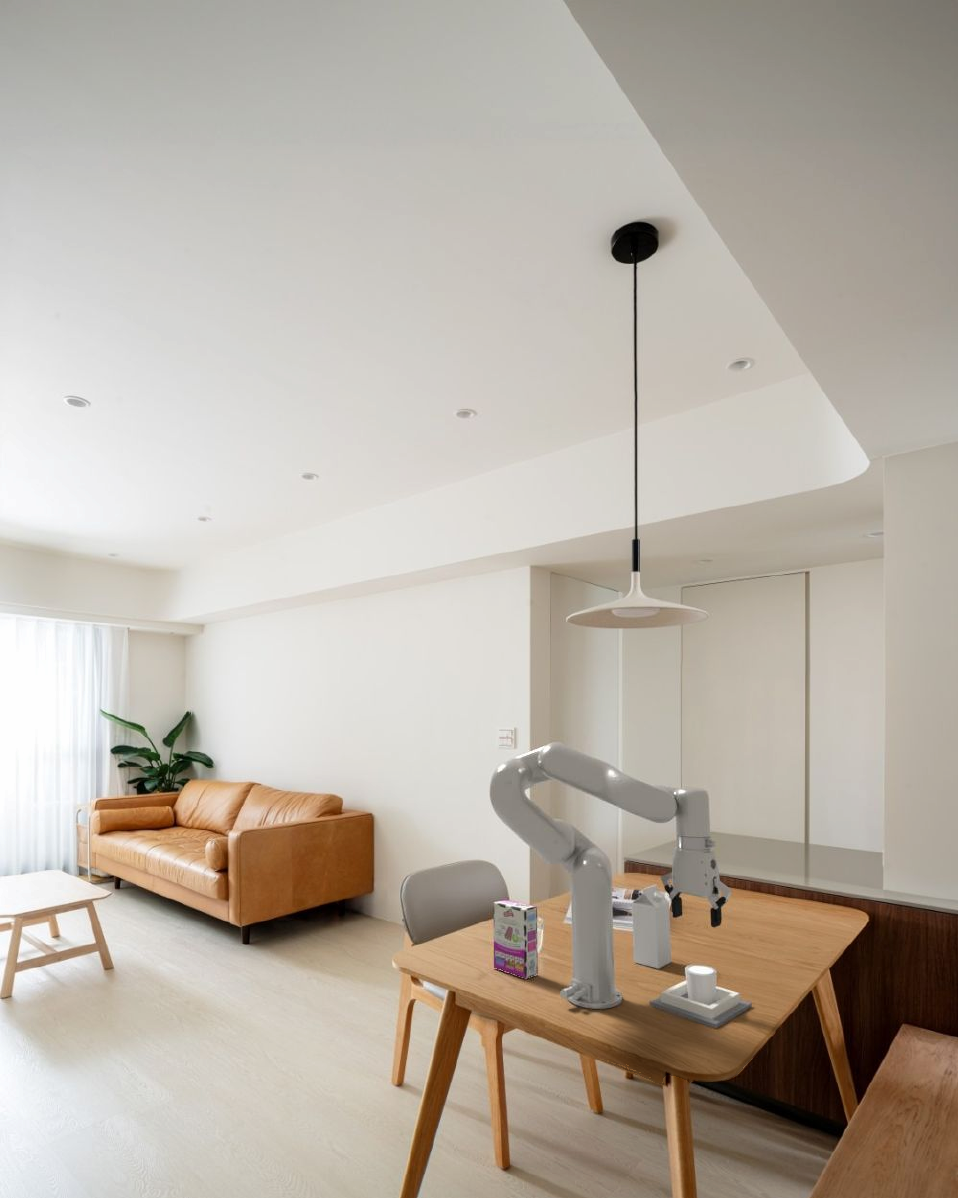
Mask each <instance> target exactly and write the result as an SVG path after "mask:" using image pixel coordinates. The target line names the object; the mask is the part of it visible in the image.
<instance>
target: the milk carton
mask: <svg viewBox="0 0 958 1198" xmlns="http://www.w3.org/2000/svg"><path fill="white" fill-rule="evenodd" d="M631 907H632V908H631V909H632V913H631V914H632V938H633V939H632V940H633V947H632V948H633V963H636V964H640V965H643V966H645V967H650V968H653V969H661V968H662V967H665V966H667V965H668V964H670V963H672V946H671V945H672V944H671V920H670V919H671V916H670V902H669V900H668V899H667V898H666V897H665V895H664V894H663V893H662V892H661V891H660V890H659V888H658V884H653V885H651V886H648V887H645V888H643V889H642V894H641V895H639V896H638V897H637V898H636V899H635V900H634V901H633V902H631Z"/></svg>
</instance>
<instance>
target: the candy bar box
mask: <svg viewBox="0 0 958 1198" xmlns="http://www.w3.org/2000/svg"><path fill="white" fill-rule="evenodd" d="M538 957H539V956H538V906H536V905H533V904H532V905H531V904H527V903H523V902H519V901H513V900H509V899H502V900H498V901H494V902H493V969H494V968H497V969H501V970H503V971H506V972H509V973H512V974H515V975H517V976H520V977H523V978H529V977H531V976H534V975H536V974H539V967H538V964H539V963H538V961H539V960H538V959H539V958H538ZM517 976H516V977H517ZM536 976H537V975H536ZM520 977H519V978H520ZM534 977H535V976H534ZM523 978H522V979H523ZM531 978H532V977H531ZM529 979H530V978H529Z"/></svg>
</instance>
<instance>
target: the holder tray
mask: <svg viewBox="0 0 958 1198" xmlns="http://www.w3.org/2000/svg"><path fill="white" fill-rule="evenodd" d="M649 1006H650V1007H653V1008H656V1009H658V1010H661V1011H665V1012H666V1013H669V1014H674V1015H675V1016H679V1017H681V1018H685V1019H687V1020H690V1021H693V1022H696V1023H698V1024H702V1025H705V1026H707V1027H711V1028H712V1029H713V1028H714V1029H717V1028H719V1027H721V1026H722V1025H724V1024H726V1023H728V1022H729V1021H731V1020H732V1019H734V1018H736V1017H737V1016H739V1015H741V1014H742V1013H744V1012H746V1011H747V1010H749V1009H750V1007H751V1008H752V1007H753V1003H752V1002H750V1001H747V1000H744V999H741V993H740V992H737V991H734V990H730V989H727V988H724V987H720V986H717V985H716V1000H715V1003H713V1004H711V1005H710V1006H708V1005H705V1004H702V1003H699V1002H696V1001H693V1000H690V999H689V997H688V990H687V982H686V979H685V980H684V981H681V982H679V983H677V984H675V985H673V986H671V987H669V988H667V989H665V990H663V991H661V992H660V996H659V997H655V998H654V999H653V1000H651V1001H649Z"/></svg>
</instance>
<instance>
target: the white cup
mask: <svg viewBox="0 0 958 1198" xmlns="http://www.w3.org/2000/svg"><path fill="white" fill-rule="evenodd" d="M684 973H685V980H686V982H687V990H688V997H689V999H690V1000H693V1001H696V1002H699V1003H702V1004H705V1005H708V1006H710V1005H711V1004H713V1003H715V1000H716V986H717V976H718V975H717V973H718V972H717V970H716V969H715V968H713V967H711V966H708V965H702V964H689V965H686V966H685V967H684Z"/></svg>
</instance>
